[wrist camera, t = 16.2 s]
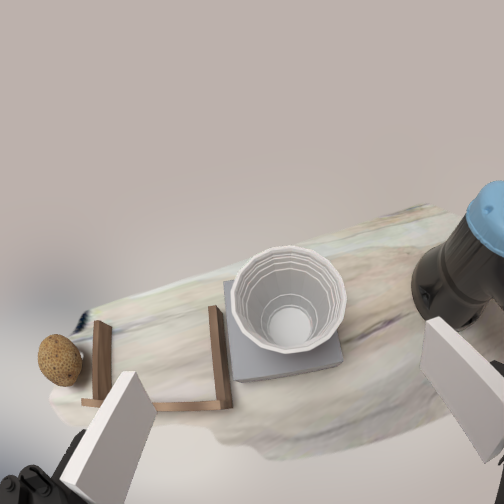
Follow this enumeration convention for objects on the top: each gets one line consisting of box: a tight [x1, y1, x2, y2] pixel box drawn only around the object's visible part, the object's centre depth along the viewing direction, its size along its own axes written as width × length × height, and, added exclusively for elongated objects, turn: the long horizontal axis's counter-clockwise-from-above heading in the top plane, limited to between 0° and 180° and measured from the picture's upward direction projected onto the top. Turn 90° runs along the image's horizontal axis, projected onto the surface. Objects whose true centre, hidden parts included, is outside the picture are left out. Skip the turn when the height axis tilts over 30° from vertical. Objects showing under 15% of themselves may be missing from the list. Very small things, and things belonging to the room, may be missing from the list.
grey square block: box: [223, 280, 343, 383], centre depth 39 cm, size 14×14×6 cm
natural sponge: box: [38, 334, 82, 387], centre depth 38 cm, size 9×9×10 cm
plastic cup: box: [230, 245, 347, 354], centre depth 30 cm, size 11×11×12 cm
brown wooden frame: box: [81, 305, 233, 411], centre depth 38 cm, size 22×15×7 cm
